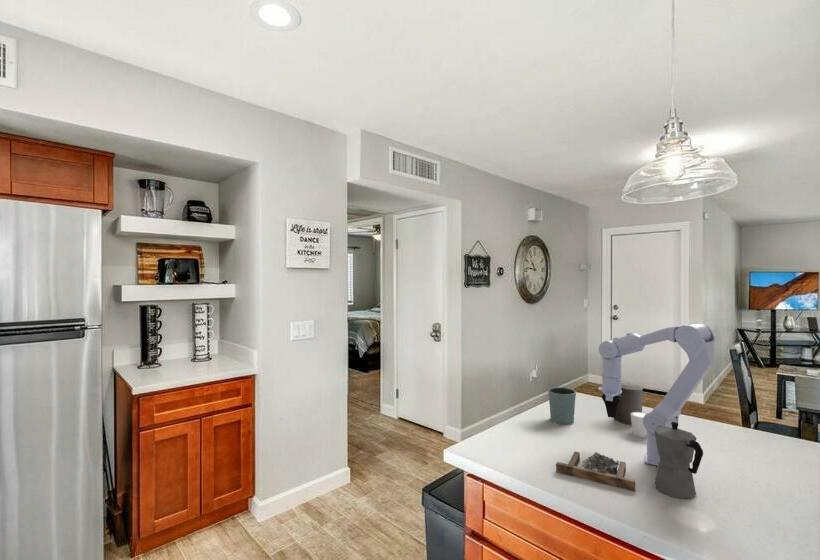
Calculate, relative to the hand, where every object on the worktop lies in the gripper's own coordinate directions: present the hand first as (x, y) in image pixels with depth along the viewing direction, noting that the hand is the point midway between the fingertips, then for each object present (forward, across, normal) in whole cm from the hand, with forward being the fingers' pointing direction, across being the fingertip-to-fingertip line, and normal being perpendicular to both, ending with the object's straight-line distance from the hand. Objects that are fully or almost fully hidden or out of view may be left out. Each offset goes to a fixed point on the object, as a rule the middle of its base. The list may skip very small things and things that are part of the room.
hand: (611, 417), depth 136 cm
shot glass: (+10, -16, +8) cm, 20 cm away
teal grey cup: (+10, -15, -19) cm, 26 cm away
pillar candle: (+10, -29, +3) cm, 31 cm away
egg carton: (+10, +23, -1) cm, 25 cm away
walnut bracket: (+9, +24, -2) cm, 26 cm away
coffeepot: (+10, +24, +18) cm, 31 cm away
